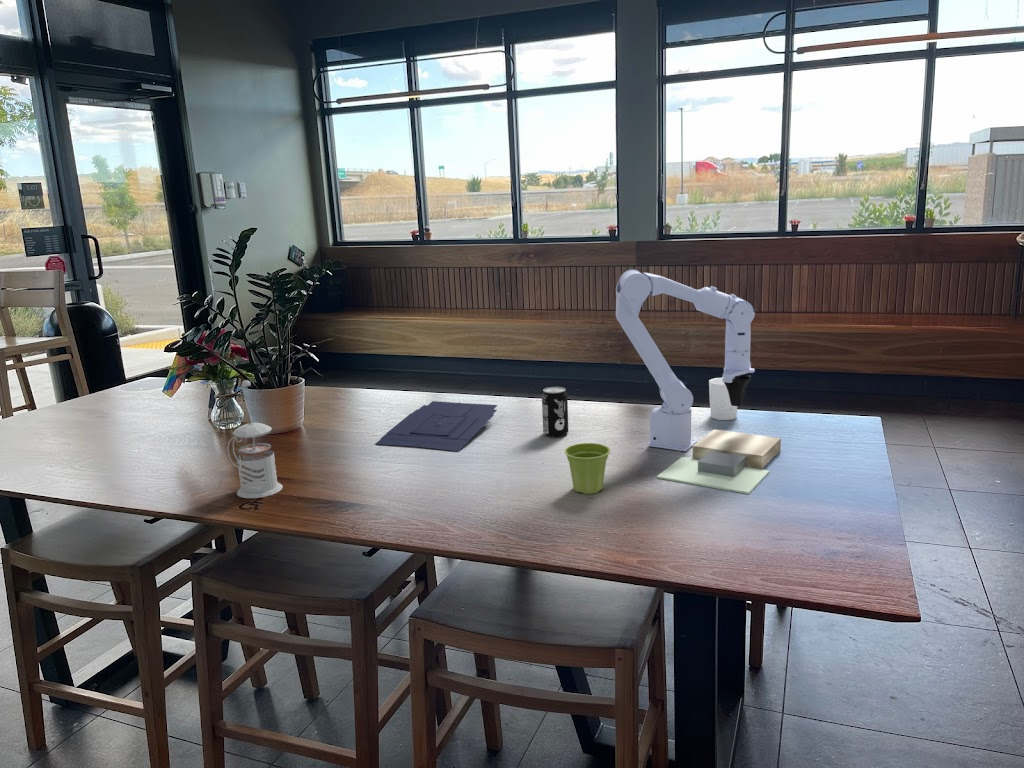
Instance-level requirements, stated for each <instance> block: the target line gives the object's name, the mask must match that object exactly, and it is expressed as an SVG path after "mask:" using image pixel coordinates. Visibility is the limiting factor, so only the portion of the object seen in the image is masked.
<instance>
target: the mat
mask: <svg viewBox="0 0 1024 768" xmlns="http://www.w3.org/2000/svg"><path fill="white" fill-rule="evenodd" d="M699 460H700V459H695V458H692V457H691V458H689V457H683V456H681V457H679V458H678V459H677V460H676V461H675V462H673V463H672V464H671V465H669V466H668V467H667V468H665V469H664V470H663V471H662V472H661V473H659V474H658V475H657V476H656V478H657V479H661V480H666V481H672V482H679V483H684V484H690V485H694V486H695V485H696V486H700V487H707V488H712V489H718V490H723V491H729V492H734V493H741V494H747V495H749V494H751V492H752V491H754V489H755V488H757V486H759V484H760V483H761V482H762V481H763V480H764V479H765V478H766V477H767V476H768V475H769V474H770V470H767V469H760V468H753V467H747V466H745V467H744V468H743V469H742V470H741V471H740V472H739V473H738V474H737V475H736V476H734V477H730V476H724V475H718V474H712V473H706V472H700V471H698V461H699Z"/></svg>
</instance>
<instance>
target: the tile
mask: <svg viewBox="0 0 1024 768" xmlns="http://www.w3.org/2000/svg"><path fill="white" fill-rule="evenodd" d="M698 460H699V461H698V471H700V472H706V473H712V474H718V475H724V476H730V477H734V476H736V475H737V474H738V473H739V472H740V471H741V470H742V469H743V468H744V467H747V466H746V456H741V455H735V454H728V453H721V452H714V451H710V452H709V453H708V454H707V455H705V456H704V457H703V458H702V459H698Z"/></svg>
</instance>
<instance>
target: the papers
mask: <svg viewBox="0 0 1024 768" xmlns="http://www.w3.org/2000/svg"><path fill="white" fill-rule="evenodd" d="M496 407H498V404H489V403H488V404H486V403H485V404H483V403H467V402H466V403H465V402H452V401H451V402H450V401H438V400H437V401H436V400H435V401H434V400H433V401H431V402H430V403H429V404H427V405H425V404H423V405H422V406H421V407H419V408H416V409H415V410H414V411H413V412H411V413H409V414H408V415H407V416H406V417H405V418H403V419H402V420H401V421H400V422H398V423H397V424H396V425H395V426H393V427H392V428H391V429H389V431H387V432H386V433H385V434H384V435H383V436H382V437H381V438H380V439H379V440H378V441H376V443H375V445H386V446H399V447H400V446H403V447H417V448H426V449H436V450H446V451H452V452H453V451H454V452H455V451H456V452H459V451H460V450H462V448H463V447H465V446H466V445H467V444H468V443H469V441H471V439H472V438H474V436H475V435H476V434H477V433H478V432H479V431H480V430H481V429H482V428H483V427H484V426H485V424H487V423H488V421H490V420H491V419H492V418H493V417H494V416H495V413H496V412H497V411H498V409H496Z"/></svg>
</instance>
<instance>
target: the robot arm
mask: <svg viewBox="0 0 1024 768" xmlns="http://www.w3.org/2000/svg"><path fill="white" fill-rule="evenodd" d="M662 294H665V295H668V296H671V297H675V298H677V299H681V300H684V301H687V302H691V303H693V305H694V308H695V310H696V311H699V312H702V313H703V314H707V315H711V316H713V317H715V318H718V319H722V320H724V319H725V337H724V367H723V373H722V378H723V382H724V383H725V385H726V387H727V390H728V393H729V398H730V402H731V406H738V407H741V406H742V405H743V401H744V397H745V393H746V391H747V387H748V385H749V382H750V381H751V379H752V375H750V374H753V373H755V371H756V370H755V368H752V362H751V341H752V340H751V334H752V331H751V323H752V321H754V318H755V315H756V312H755V311H754V307H753V305H752V304H751V303H750V302H748V301H747V300H745V299H742V298H741V297H739V296H736V294H733V293H730V294H727V293H725V292H722V291H720V290H718V288H717V287H715V286H712V285H711V286H710V287H708V286H704V287H702V288H700V289H695V288H694V287H691V286H688V285H685V284H682V283H680V282H678V281H676V280H675V281H674V280H673V279H670V278H667V277H664V276H662V275H659V274H654V273H650V272H640V271H639V270H637V269H628V270H626V271H625V272H623V273H622V274H621V275H620V277H619V279H618V282H617V284H616V287H615V297H616V298H615V318H616V320H617V322H618V323H619V324H620V326H621V328H622V330H623V331H624V332H625V335H626V336H627V337H628V339H629V341H630V342H631V344H632V346H633V347H634V349H635V350H636V352H637V353H638V355H639V357H640V358H641V360H642V361H643V363H644V364H645V366H646V367H647V369H648V371H649V373H650V374H651V375H652V377H653V379H654V380H655V383H657V385H658V388H659V394H660V397H661V398H660V399H662V401H663V403H662V404H661V406H660V407H655V408H653V410H652V411H651V413H650V418H649V443H648V446H649V447H654V448H659V449H665V450H666V449H667V450H673V451H678V452H679V451H680V452H686V451H688V450H689V449H691V448H693V445H694V444H696V443H697V442H698V440H697V439H692V406H693V404H694V396H693V393H692V392H691V390H690V389H688V388H687V387H686V385H685V384H684V382H683V381H681V380H680V379H679V378H678V377H677V376H676V375H675V372H673V370H672V368H671V367H670V365H669V363H668V361H666V359H665V356H663V354H662V353H661V351H660V349H659V348H658V346H657V344H656V343H655V341H654V339H653V338H652V336H651V335H650V332H648V330H647V328H646V327H645V325H644V324H643V322H642V321H641V319H640V318H639V314H640V311H641V309H642V306H643V304H644V302H645V301H646V299H647V298H648V297H649V295H650V296H652V297H654V296H657V295H662Z"/></svg>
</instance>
